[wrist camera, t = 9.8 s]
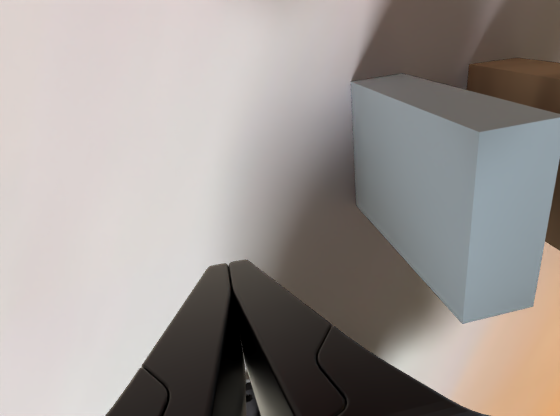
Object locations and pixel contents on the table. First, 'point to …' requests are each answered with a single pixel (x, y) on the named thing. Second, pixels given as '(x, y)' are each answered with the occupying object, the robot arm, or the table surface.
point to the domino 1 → (457, 187)
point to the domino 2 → (524, 103)
